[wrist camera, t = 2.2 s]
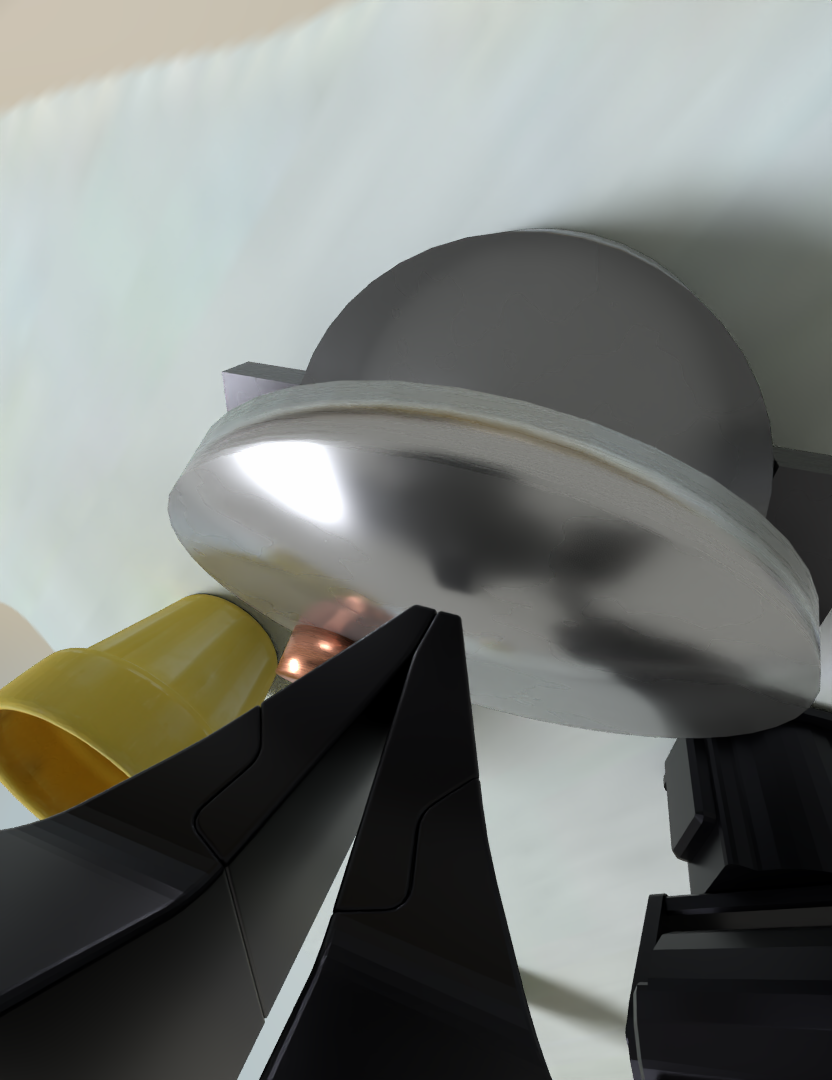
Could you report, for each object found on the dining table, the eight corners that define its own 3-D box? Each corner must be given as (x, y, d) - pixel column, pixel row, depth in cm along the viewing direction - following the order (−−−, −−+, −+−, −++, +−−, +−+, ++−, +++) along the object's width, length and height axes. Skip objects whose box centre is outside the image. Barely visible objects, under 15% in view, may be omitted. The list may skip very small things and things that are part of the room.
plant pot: (111, 571, 29) (-81, 704, 21) (255, 549, 25) (82, 708, 17) (200, 708, 33) (69, 862, 25) (337, 710, 29) (230, 898, 21)
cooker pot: (942, 260, 12) (1055, 275, 9) (729, 655, 19) (751, 743, 16) (275, 205, 17) (191, 202, 13) (299, 548, 24) (248, 600, 20)
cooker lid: (1113, 490, 5) (1202, 766, 4) (673, 723, 17) (664, 811, 16) (50, 323, 8) (-66, 452, 7) (299, 617, 20) (270, 685, 19)
